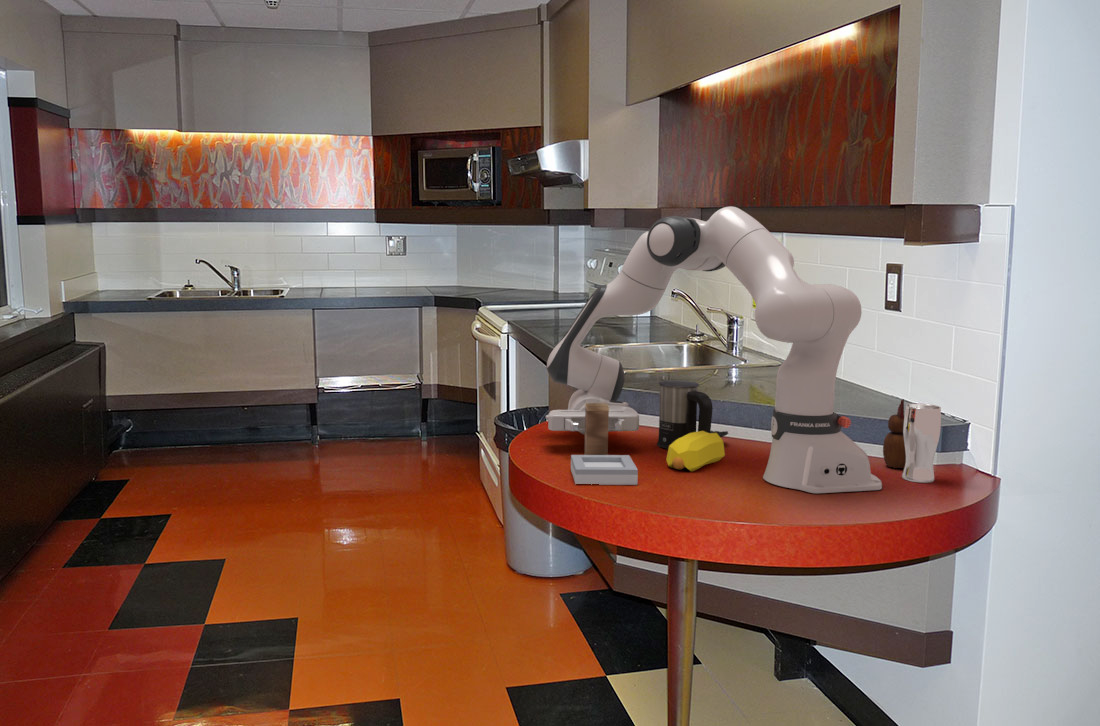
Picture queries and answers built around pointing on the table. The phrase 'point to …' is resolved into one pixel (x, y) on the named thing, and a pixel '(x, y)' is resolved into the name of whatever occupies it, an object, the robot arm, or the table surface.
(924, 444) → the beer glass
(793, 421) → the robot arm
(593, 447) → the column block
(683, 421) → the milk frother
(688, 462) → the hot dog
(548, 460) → the table surface
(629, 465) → the plinth base
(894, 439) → the wooden figurine
